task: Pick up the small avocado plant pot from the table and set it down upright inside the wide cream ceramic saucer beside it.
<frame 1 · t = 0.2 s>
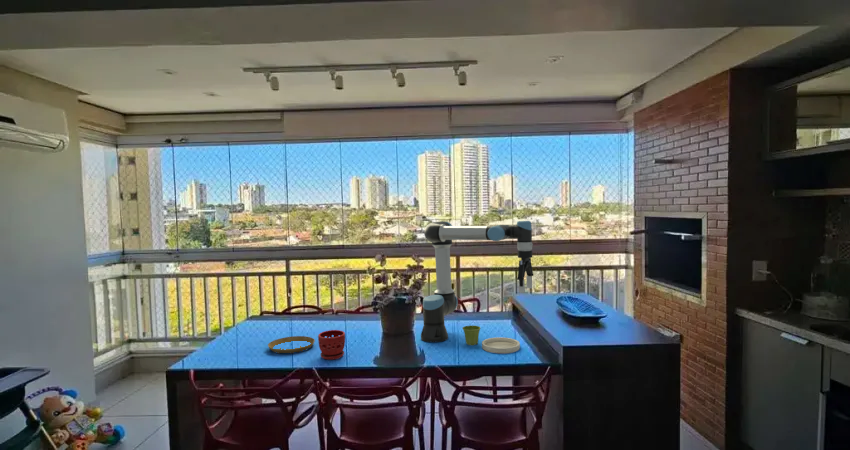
hand: (525, 290, 233), 28 cm above the table, tool pointing down, fingers open, 13 cm apart
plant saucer: (291, 348, 238), on the table
plant pot: (471, 344, 234), on the table
plant pot 2: (332, 357, 220), on the table
saucer: (500, 347, 226), on the table
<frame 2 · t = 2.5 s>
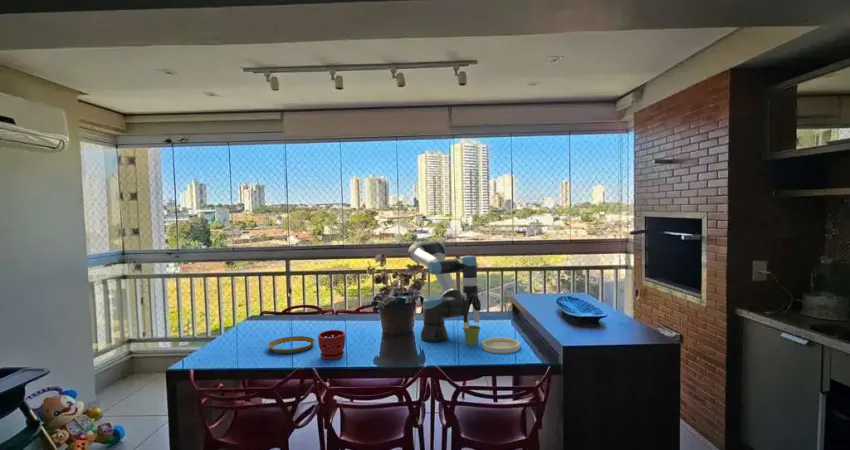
hand: (471, 325, 234), 10 cm above the table, tool pointing down, fingers open, 13 cm apart
nothing on the table moved.
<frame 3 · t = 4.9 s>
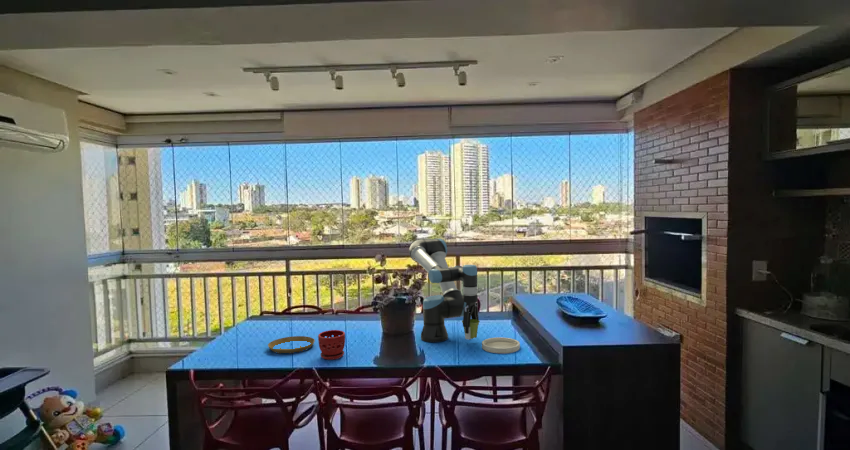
hand: (471, 336, 235), 4 cm above the table, tool pointing down, fingers closed on plant pot, 8 cm apart
plant pot: (471, 337, 235), point 3 cm above the table, touching gripper
everything else where it was.
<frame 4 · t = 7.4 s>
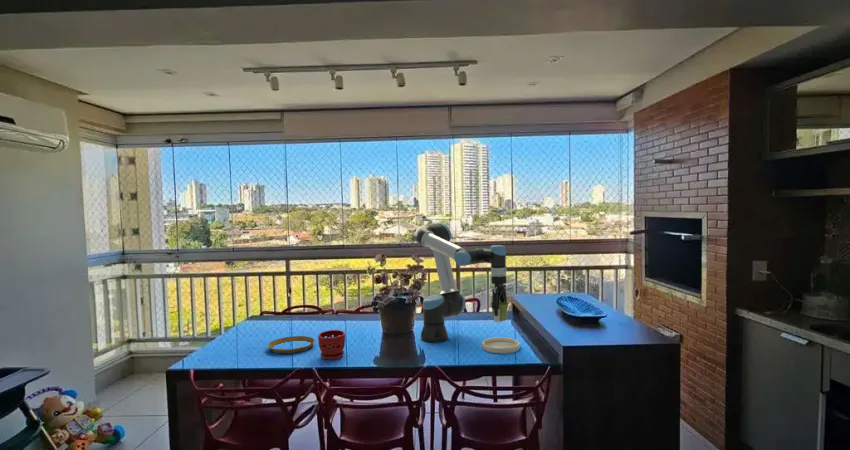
hand: (500, 319, 226), 14 cm above the table, tool pointing down, fingers closed on plant pot, 8 cm apart
plant pot: (499, 320, 226), point 14 cm above the table, touching gripper
everything else where it was.
when the fingers open (3 cm above the table, at t = 9.9 s): plant pot stays where it is, resting on saucer.
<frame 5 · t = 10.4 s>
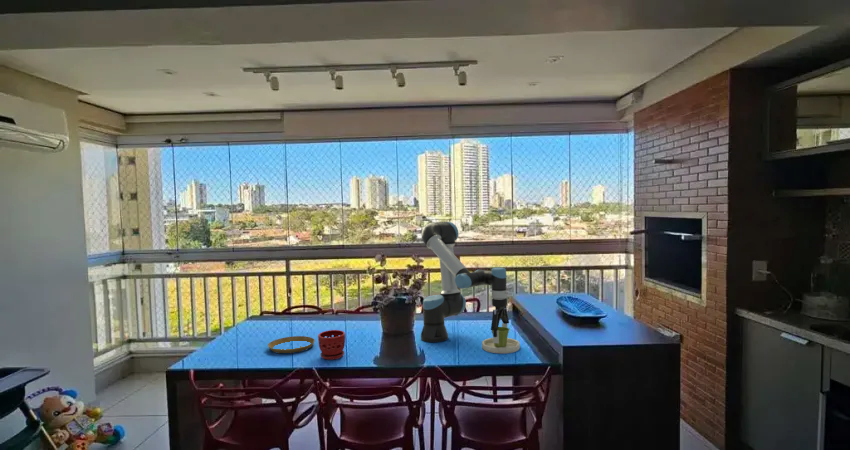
hand: (500, 339, 226), 4 cm above the table, tool pointing down, fingers open, 13 cm apart
plant pot: (500, 346, 226), point 1 cm above the table, touching saucer
everything else where it was.
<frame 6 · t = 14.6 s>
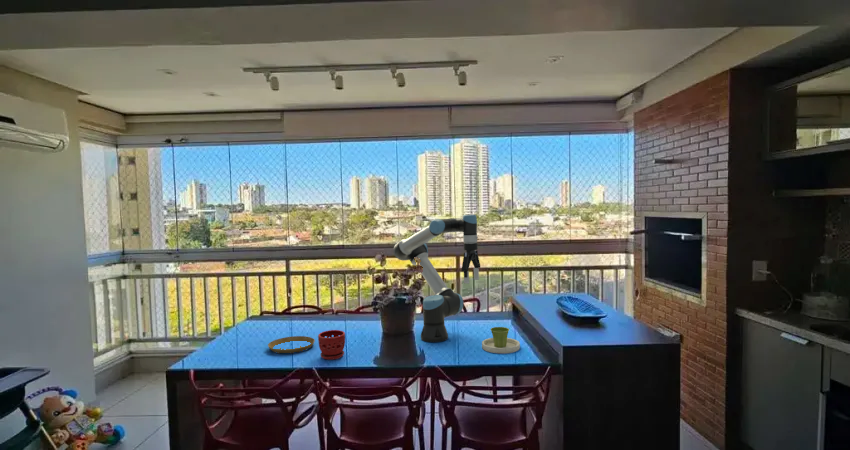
hand: (471, 281, 243), 32 cm above the table, tool pointing down, fingers open, 13 cm apart
nothing on the table moved.
at the end: plant pot inside the target area on the saucer (0.2 cm from its centre), point 0.6 cm above the saucer's base; plant pot tilted 0°; the gripper is holding nothing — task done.
